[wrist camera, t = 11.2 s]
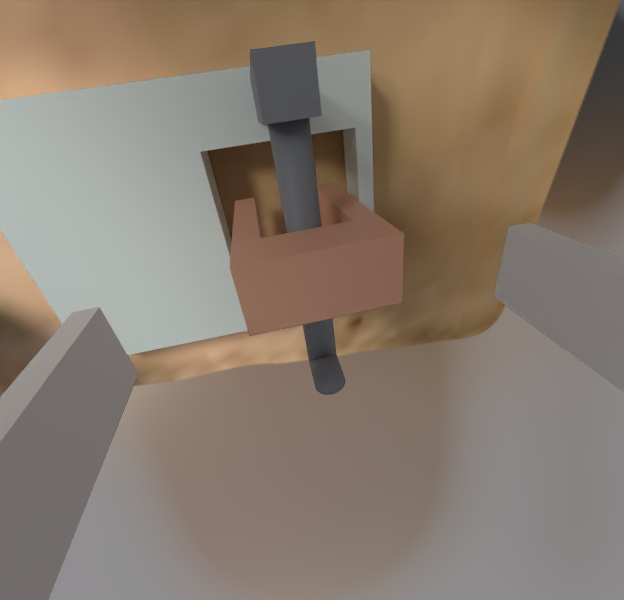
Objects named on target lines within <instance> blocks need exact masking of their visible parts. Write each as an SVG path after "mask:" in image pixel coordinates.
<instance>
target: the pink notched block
mask: <svg viewBox="0 0 624 600" xmlns="http://www.w3.org/2000/svg"><path fill="white" fill-rule="evenodd" d="M317 189H318V198H319V207H320V215H321V224H322V227H317V228H311V229H306V230H301V231H295V232H290V233H285V234H279V235H274V236H269V237H262V232H261V227H260V223H259V218H258V214H257V209H256V205H255V200H254V198H248V199H242V200H236V201H235V207H234V219H233V231H232V243H231V256H230V271H231V275H232V278H233V282H234V285H235V289H236V292H237V295H238V299H239V302H240V306H241V309H242V313H243V316H244V320H245V323H246V326H247V330H248V333H249V336H253V335H257V334H262V333H266V332H271V331H276V330H280V329H285V328H289V327H294V326H298V325H303V324H308V323H312V322H317V321H321V320H326V319H331V318H335V317H340V316H344V315H349V314H353V313H358V312H363V311H367V310H372V309H376V308H381V307H386V306H390V305H395V304H399V303H403V267H404V233H403V232H401V231H400V230H398V229H397V228H396V227H394V226H393V225H391V224H390V223H389V222H387V221H386V220H384V219H383V218H381V217H380V216H379V215H377V214H376V213H374V212H373V211H372V210H370V209H369V208H367V207H366V206H364V205H363V204H362V203H360V202H359V201H357V200H356V199H355V198H353V197H352V196H350V195H349V194H347V193H346V192H345V191H343V190H342V189H340V188H339V187H338V186H336V185H335V184H328V185H322V186H317Z"/></svg>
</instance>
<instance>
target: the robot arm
mask: <svg viewBox="0 0 624 600" xmlns="http://www.w3.org/2000/svg"><path fill="white" fill-rule="evenodd" d="M494 297H495V298H496V299H497V300H499V301H500V302H502V303H503V304H504V305H506V306H507V307H508V308H510V309H511V310H513V311H514V312H515V313H516V314H518V315H519V316H520V317H522V318H523V319H525V320H526V321H527V322H529V323H530V324H531V325H533V326H534V327H535V328H537V329H538V330H540V331H541V332H542V333H544V334H545V335H546V336H548V337H549V338H550V339H552V340H553V341H554V342H556V343H557V344H558V345H560V346H561V347H562V348H564V349H565V350H566V351H568V352H569V353H571V354H572V355H574V356H575V357H576V358H577V359H579V360H580V361H581V362H583V363H584V364H585V365H587V366H588V367H589V368H591V369H592V370H594V371H595V372H596V373H598V374H599V375H600V376H602V377H603V378H604V379H606V380H607V381H608V382H610V383H611V384H613V385H614V386H615V387H616V388H618V389H619V390H621V391H622V392H623V393H624V259H623V258H620V257H617V256H615V255H612V254H610V253H607V252H604V251H602V250H599V249H596V248H594V247H591V246H589V245H586V244H584V243H581V242H578V241H576V240H573V239H571V238H568V237H566V236H563V235H560V234H558V233H555V232H553V231H550V230H548V229H545V228H542V227H540V226H537V225H535V224H532V223H530V222H529V223H524V224H519V225H514V226H509V227H508V231H507V236H506V241H505V245H504V250H503V255H502V259H501V264H500V269H499V273H498V278H497V283H496V287H495V292H494ZM137 376H138V372H137V371H136V369H135V367H134V365H133V364H132V362H131V360H130V359H129V357H128V355H127V353H126V352H125V350H124V348H123V347H122V345H121V343H120V341H119V340H118V338H117V336H116V334H115V333H114V331H113V329H112V328H111V326H110V324H109V322H108V321H107V319H106V317H105V316H104V314H103V312H102V310H101V309H100V307H97V308H92V309H87V310H81V311H76V312H72V313H71V314H70V316H69V317H68V318H67V319H66V320H65V321H64V323H63V324H62V325H61V326H60V327H59V329H58V330H57V331H56V332H55V333H54V334H53V336H52V337H51V338H50V339H49V340H48V341H47V343H46V344H45V345H44V346H43V347H42V349H41V350H40V351H39V352H38V353H37V354H36V356H35V357H34V358H33V359H32V360H31V361H30V363H29V364H28V365H27V366H26V367H25V369H24V370H23V371H22V372H21V373H20V374H19V376H18V377H17V378H16V379H15V380H14V381H13V383H12V384H11V385H10V386H9V387H8V389H7V390H6V391H5V392H4V393H3V394H2V396H1V397H0V600H48V599H49V597H50V594H51V592H52V589H53V587H54V584H55V582H56V579H57V576H58V574H59V572H60V569H61V567H62V564H63V561H64V559H65V557H66V554H67V552H68V549H69V547H70V544H71V542H72V539H73V537H74V534H75V532H76V529H77V527H78V524H79V521H80V519H81V517H82V514H83V512H84V509H85V507H86V504H87V502H88V499H89V496H90V494H91V491H92V489H93V486H94V484H95V481H96V479H97V476H98V474H99V471H100V469H101V466H102V464H103V461H104V459H105V456H106V454H107V451H108V449H109V446H110V444H111V441H112V439H113V436H114V434H115V431H116V429H117V426H118V424H119V421H120V418H121V416H122V414H123V411H124V409H125V406H126V404H127V401H128V399H129V396H130V394H131V391H132V389H133V386H134V384H135V381H136V379H137Z"/></svg>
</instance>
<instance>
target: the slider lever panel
mask: <svg viewBox="0 0 624 600" xmlns="http://www.w3.org/2000/svg"><path fill="white" fill-rule="evenodd" d="M336 130H343V140H344V155H345V170H346V184H347V194H349V195H350V196H352V197H353V198H355V199H356V200H357V201H359V202H360V203H362V204H363V205H364V206H366V207H367V208H369V209H370V210H372V211H373V212H374V183H373V144H372V104H371V64H370V50H364V51H357V52H350V53H342V54H335V55H328V56H320V57H316V51H315V41H313V42H306V43H298V44H291V45H283V46H275V47H268V48H260V49H253V50H250V66H247V67H239V68H232V69H225V70H217V71H210V72H203V73H195V74H188V75H181V76H173V77H166V78H159V79H151V80H144V81H137V82H129V83H122V84H115V85H107V86H100V87H93V88H85V89H78V90H70V91H63V92H56V93H48V94H41V95H34V96H26V97H19V98H12V99H4V100H0V231H1V232H2V234H3V235H4V237H5V238H6V240H7V241H8V243H9V244H10V246H11V247H12V249H13V250H14V252H15V253H16V255H17V256H18V258H19V259H20V261H21V262H22V264H23V265H24V267H25V268H26V270H27V271H28V273H29V274H30V276H31V277H32V279H33V281H34V282H35V284H36V285H37V287H38V288H39V290H40V291H41V293H42V294H43V296H44V297H45V299H46V300H47V302H48V303H49V305H50V306H51V308H52V309H53V311H54V312H55V314H56V315H57V317H58V318H59V320H60V321H61V323H62V324H63V323H64V321H65V320H66V319H67V318H68V317H69V316H70V314H71V313H72V312H76V311H81V310H87V309H92V308H97V307H100V309H101V310H102V312H103V314H104V316H105V317H106V319H107V321H108V322H109V324H110V326H111V328H112V329H113V331H114V333H115V334H116V336H117V338H118V340H119V341H120V343H121V345H122V347H123V348H124V350H125V352H126V353H127V355H131V354H136V353H141V352H146V351H151V350H156V349H161V348H165V347H170V346H175V345H180V344H185V343H190V342H195V341H200V340H205V339H210V338H214V337H219V336H224V335H229V334H234V333H239V332H244V331H248V330H247V326H246V323H245V320H244V316H243V313H242V309H241V306H240V302H239V299H238V295H237V292H236V289H235V285H234V282H233V278H232V275H231V271H230V256H231V243H232V240H231V236H230V232H229V229H228V225H227V221H226V218H225V214H224V210H223V207H222V203H221V199H220V196H219V192H218V188H217V185H216V181H215V177H214V174H213V170H212V166H211V163H210V159H209V155H208V152H207V151H208V150H214V149H221V148H227V147H234V146H240V145H247V144H253V143H259V142H266V141H271V147H272V152H273V158H274V164H275V169H276V175H277V181H278V186H279V192H280V198H281V204H282V209H283V215H284V221H285V226H286V232H287V233H290V232H295V231H301V230H306V229H311V228H317V227H322V224H321V215H320V207H319V198H318V189H317V180H316V172H315V163H314V154H313V145H312V137H311V134H317V133H323V132H330V131H336ZM303 329H304V335H305V340H306V346H307V352H308V357H309V362H310V367H311V370H312V375H313V378H314V383H315V387H316V389H317V391H318V392H320V393H322V394H326V395H327V394H328V395H329V394H334V393H337V392H338V391H340V390H341V389H342V388H343V387H344V385H345V377H344V375H343V372H342V369H341V366H340V364H339V361H338V358H337V355H336V347H335V338H334V329H333V320H332V318H331V319H326V320H321V321H317V322H312V323H308V324H303Z"/></svg>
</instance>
